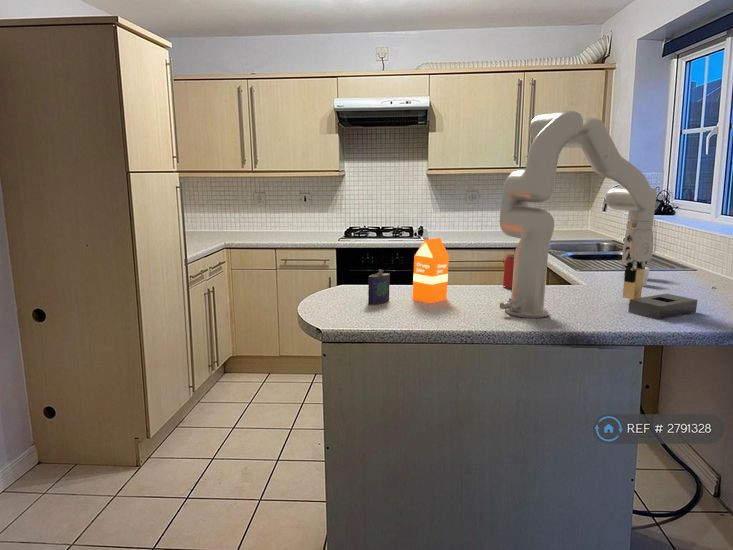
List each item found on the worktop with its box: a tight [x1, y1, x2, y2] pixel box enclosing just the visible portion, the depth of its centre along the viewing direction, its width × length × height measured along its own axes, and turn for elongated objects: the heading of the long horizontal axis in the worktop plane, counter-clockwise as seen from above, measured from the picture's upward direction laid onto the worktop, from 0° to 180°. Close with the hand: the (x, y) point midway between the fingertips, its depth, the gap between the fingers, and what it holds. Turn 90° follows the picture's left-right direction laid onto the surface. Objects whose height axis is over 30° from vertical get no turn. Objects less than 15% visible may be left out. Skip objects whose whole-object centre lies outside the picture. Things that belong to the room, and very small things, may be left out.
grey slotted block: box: [627, 293, 698, 320], centre depth 171 cm, size 20×10×4 cm, turn 121°
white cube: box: [635, 266, 651, 287], centre depth 216 cm, size 7×7×7 cm
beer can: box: [502, 254, 515, 290], centre depth 203 cm, size 7×7×12 cm
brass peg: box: [621, 267, 644, 300], centre depth 182 cm, size 4×4×10 cm
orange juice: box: [412, 237, 450, 304], centre depth 179 cm, size 8×9×20 cm
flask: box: [367, 269, 391, 306], centre depth 173 cm, size 9×3×11 cm, turn 138°
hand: (633, 280), depth 181 cm, fingers closed on brass peg, 4 cm apart
